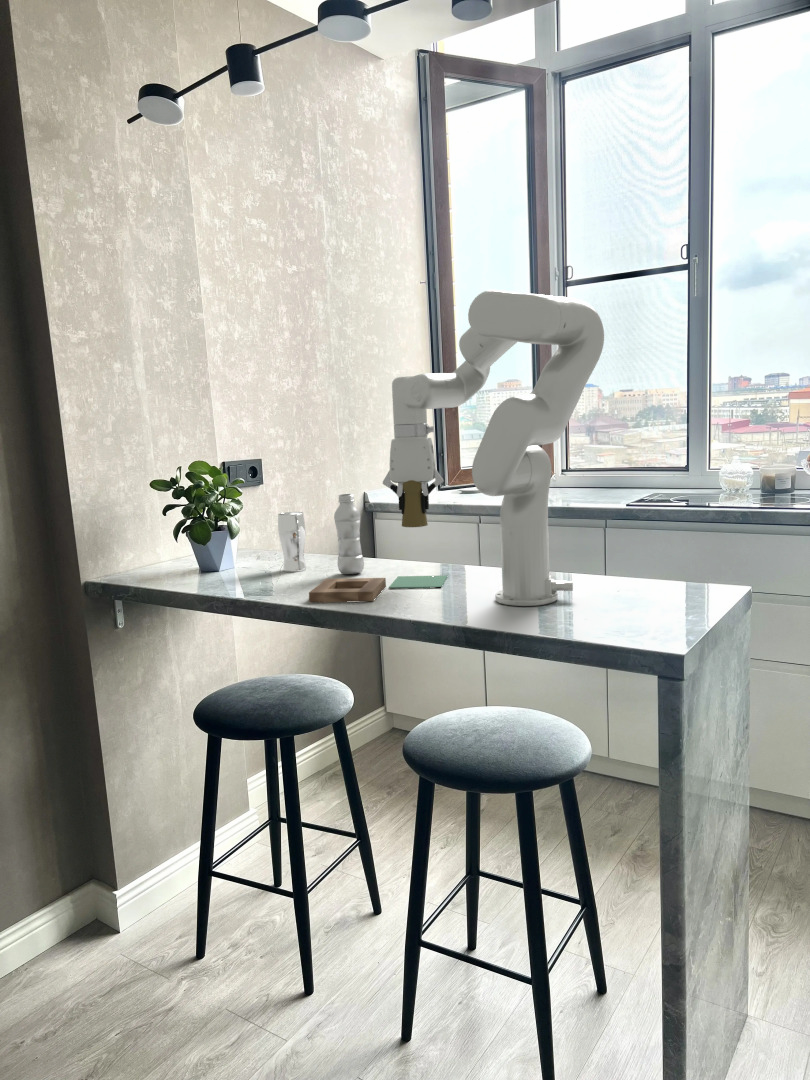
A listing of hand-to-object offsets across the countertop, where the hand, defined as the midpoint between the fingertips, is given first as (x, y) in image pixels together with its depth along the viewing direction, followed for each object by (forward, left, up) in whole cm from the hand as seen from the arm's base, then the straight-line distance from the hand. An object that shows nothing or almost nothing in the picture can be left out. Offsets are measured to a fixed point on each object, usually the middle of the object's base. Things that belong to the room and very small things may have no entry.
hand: (414, 512), depth 180 cm
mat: (0, 0, -16) cm, 16 cm away
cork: (0, 0, -3) cm, 3 cm away
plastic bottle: (+19, -12, -17) cm, 28 cm away
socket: (+14, +11, -16) cm, 24 cm away
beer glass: (+36, -19, -17) cm, 44 cm away
